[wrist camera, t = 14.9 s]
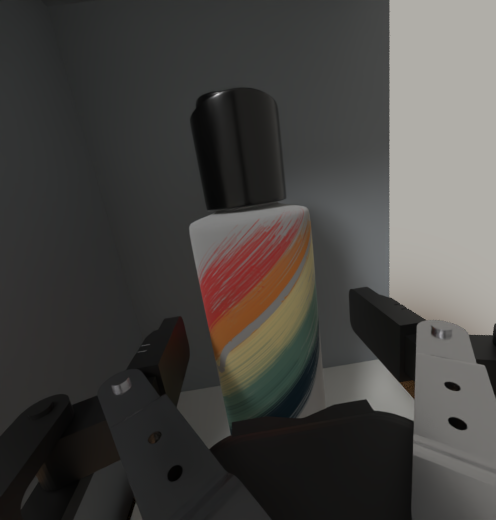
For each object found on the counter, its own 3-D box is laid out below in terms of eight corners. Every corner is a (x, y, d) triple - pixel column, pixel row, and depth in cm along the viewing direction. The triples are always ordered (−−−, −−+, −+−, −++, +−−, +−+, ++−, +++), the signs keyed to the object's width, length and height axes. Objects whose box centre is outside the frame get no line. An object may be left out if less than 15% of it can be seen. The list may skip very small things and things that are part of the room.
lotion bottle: (234, 426, 18) (174, 125, 13) (309, 409, 19) (279, 113, 14) (243, 525, 13) (144, 72, 8) (349, 496, 13) (323, 54, 8)
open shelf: (45, 663, 10) (-1200, -1265, 2) (151, 399, 24) (29, -12, 16) (563, 566, 11) (1088, -1319, 3) (379, 361, 24) (375, -57, 16)
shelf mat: (116, 613, 11) (106, 593, 11) (173, 407, 22) (170, 393, 22) (515, 540, 12) (520, 518, 11) (378, 373, 23) (378, 359, 23)
